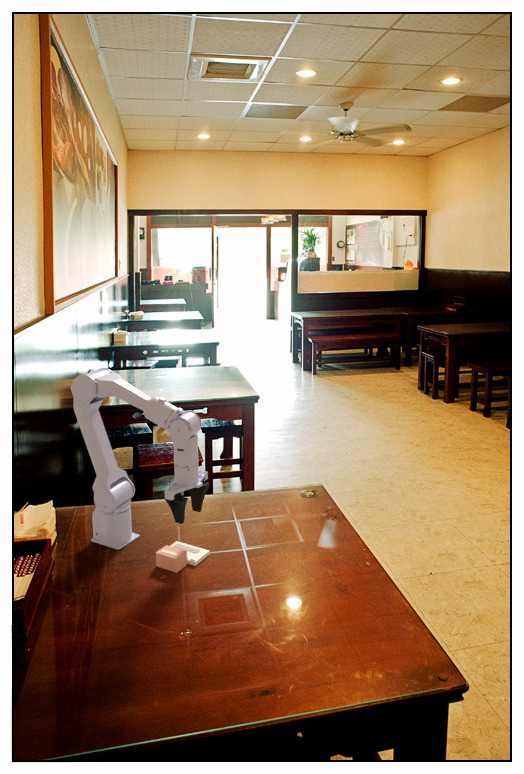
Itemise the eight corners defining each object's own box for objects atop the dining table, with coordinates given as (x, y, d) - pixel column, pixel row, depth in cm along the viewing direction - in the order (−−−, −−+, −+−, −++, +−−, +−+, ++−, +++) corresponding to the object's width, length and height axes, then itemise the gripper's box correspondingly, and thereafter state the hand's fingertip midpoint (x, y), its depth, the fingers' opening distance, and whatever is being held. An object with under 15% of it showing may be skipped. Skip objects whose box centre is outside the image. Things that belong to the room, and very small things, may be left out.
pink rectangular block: (156, 566, 130) (155, 552, 130) (167, 558, 134) (166, 544, 133) (176, 572, 128) (176, 558, 127) (187, 564, 131) (186, 550, 130)
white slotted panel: (161, 555, 135) (161, 551, 135) (176, 544, 140) (176, 540, 140) (195, 566, 130) (195, 561, 130) (209, 554, 136) (209, 550, 135)
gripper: (181, 476, 123) (183, 533, 127) (217, 456, 136) (218, 508, 139) (156, 471, 127) (159, 526, 130) (193, 452, 139) (195, 502, 142)
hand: (188, 516), depth 135 cm, fingers open, 6 cm apart
